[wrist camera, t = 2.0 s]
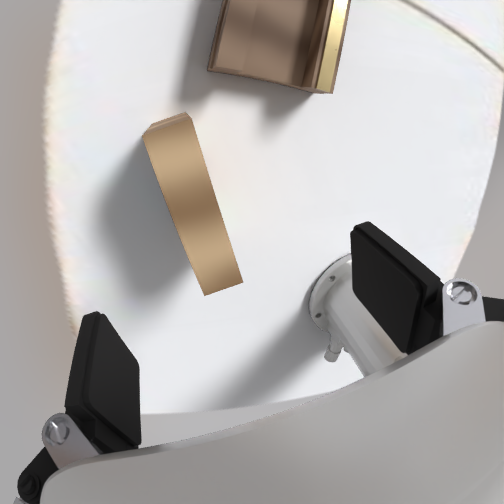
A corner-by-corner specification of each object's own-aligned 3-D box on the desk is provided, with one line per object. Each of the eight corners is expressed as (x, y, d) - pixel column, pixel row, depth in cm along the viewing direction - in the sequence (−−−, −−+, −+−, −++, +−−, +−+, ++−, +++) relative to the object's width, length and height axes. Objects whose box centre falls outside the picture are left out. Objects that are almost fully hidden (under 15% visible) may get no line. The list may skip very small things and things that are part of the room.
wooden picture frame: (222, 230, 30) (243, 282, 22) (192, 241, 30) (201, 296, 22) (185, 112, 24) (191, 118, 16) (149, 124, 23) (138, 137, 16)
